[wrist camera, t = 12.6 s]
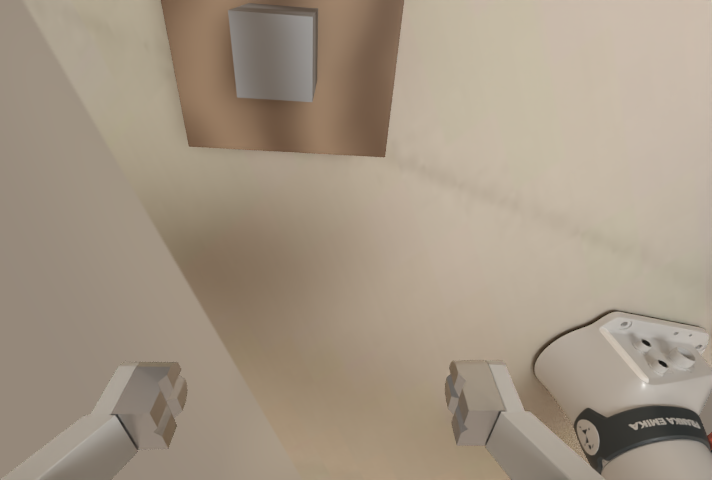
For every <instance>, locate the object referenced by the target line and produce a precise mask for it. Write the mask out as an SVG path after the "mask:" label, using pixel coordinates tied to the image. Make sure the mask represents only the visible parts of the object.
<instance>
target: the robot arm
mask: <svg viewBox="0 0 712 480" xmlns="http://www.w3.org/2000/svg"><path fill="white" fill-rule="evenodd" d="M708 341H709V334H708V333H707V332H706V330H705V329H704V328H700V327H695V326H690V325H685V324H680V323H675V322H670V321H665V320H660V319H655V318H649V317H644V316H639V315H634V314H629V313H624V312H612V313H610V314H608V315H606V316H604V317H602V318H601V319H599V320H598V321H596V322H595V323H593V324H591V325H589V326H586V327H583V328H581V329H578V330H575V331H572V332H570V333H568V334H566V335H564V336H562V337H560V338H559V339H557V340H556V341H554V342H553V343H551V344H550V345H549V346H548V347H547V348H546V349H545V350H544V351H543V352H542V353H541V354H540V356H539V357H538V359H537V361H536V363H535V369H534V370H535V375H536V377H537V379H538V380H539V381H540V382H541V383H542V384H543V385H544V386H545V388H546V389H547V390H548V391H549V392H550V394H551V395H552V396H553V397H554V399H555V400H556V402H557V403H558V404H559V406H560V407H561V409H562V410H563V412H564V413H565V415H566V416H567V418H568V419H569V421H570V422H571V424H572V426H573V427H574V429H575V432H576V435H577V438H578V440H579V443H580V445H581V448H582V450H583V452H584V454H585V455H586V457H587V459H588V461H589V463H590V465H591V466H590V465H589V464H588V463H587V462H586V461H584V460H583V459H582V458H581V457H580V456H579V455H578V454H577V453H576V452H574V451H573V450H572V449H571V448H570V447H569V446H568V445H567V444H566V443H565V442H563V441H562V440H561V439H560V438H559V437H558V436H557V435H556V434H555V433H553V432H552V431H551V430H550V429H549V428H548V427H547V426H546V425H545V424H543V423H542V422H541V421H540V420H539V419H538V418H537V417H536V416H535V415H533V414H532V413H531V412H530V411H525V410H524V408H523V405H522V403H521V400H520V398H519V396H518V393H517V391H516V389H515V386H514V384H513V381H512V379H511V377H510V374H509V372H508V369H507V367H506V365H505V363H504V362H503V361H501V360H490V361H484V360H461V361H452V362H451V363H450V367H449V369H450V373H451V374H450V375H449V376H448V377H447V378H446V383H445V395H446V402H447V406H448V409H449V410H450V411H451V412H452V413H453V414H454V416H453V419H452V428H453V432H454V436H455V440H456V444H457V445H465V446H486V447H485V448H486V449H487V450H488V451H489V453H490V454H491V455H492V456H493V458H494V459H495V460H496V461H497V462H498V464H499V465H500V466H501V467H502V469H503V470H504V471H505V472H506V474H507V475H508V476H509V477H510V479H511V480H712V432H711V433H710V434H709V435H708V436H707V435H706V432H705V429H704V427H703V424H702V422H701V419H700V417H699V416H700V414H701V412H702V410H703V407H704V406H705V403H706V401H707V399H708V397H709V395H710V394H711V392H712V369H711V367H710V366H709V365H708V363H707V362H706V361H705V359H704V358H703V357H702V356H701V355H702V354H703V352H704V351H705V349H706V347H707V345H708ZM180 371H181V368H180V366H179V364H178V363H177V362H123V363H122V364H121V365H120V366H119V367H118V368H117V369H116V371H115V373H114V374H113V376H112V378H111V380H110V382H109V383H108V385H107V386H106V388H105V390H104V392H103V393H102V395H101V397H100V398H99V400H98V402H97V404H96V405H95V407H94V409H93V410H92V412H91V414H90V415H84V416H83V417H82V418H80V419H79V420H78V421H76V422H75V423H74V424H72V425H71V426H70V427H68V428H67V429H66V430H64V431H63V432H62V433H61V434H59V435H58V436H57V437H55V438H54V439H53V440H51V441H50V442H49V443H48V444H46V445H45V446H44V447H42V448H41V449H40V450H39V451H37V452H36V453H34V454H33V455H32V456H31V457H29V458H28V459H27V460H25V461H24V462H23V463H21V464H20V465H19V466H17V467H16V468H15V469H14V470H12V471H11V472H10V473H8V474H7V475H6V476H4V477H3V478H2V479H0V480H112V479H113V478H114V477H115V476H116V475H117V473H118V472H119V471H120V470H121V469H122V468H123V467H124V466H125V465H126V464H127V463H128V462H129V461H130V460H131V459H132V458H133V456H134V455H135V454H136V453H137V452H138V451H137V450H146V449H168V448H169V445H170V443H171V440H172V437H173V435H174V432H175V429H176V427H177V424H176V422H175V419H174V418H175V417H176V416H177V415H178V414H179V413H181V412H182V410H183V408H184V405H185V402H186V397H187V383H186V380H185V378H183V377H182V376H180V375H179V374H180Z"/></svg>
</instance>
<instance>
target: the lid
mask: <svg viewBox="0 0 712 480" xmlns="http://www.w3.org/2000/svg"><path fill="white" fill-rule="evenodd" d="M161 3H162V8H163V13H164V19H165V24H166V29H167V34H168V39H169V45H170V50H171V55H172V60H173V66H174V71H175V76H176V81H177V86H178V92H179V97H180V102H181V107H182V113H183V118H184V123H185V128H186V133H187V139H188V144H189V146H190V147H209V148H227V149H245V150H263V151H282V152H300V153H318V154H336V155H354V156H373V157H385V152H386V144H387V136H388V127H389V119H390V111H391V103H392V95H393V86H394V78H395V70H396V62H397V54H398V46H399V37H400V29H401V21H402V13H403V5H404V0H161Z"/></svg>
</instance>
